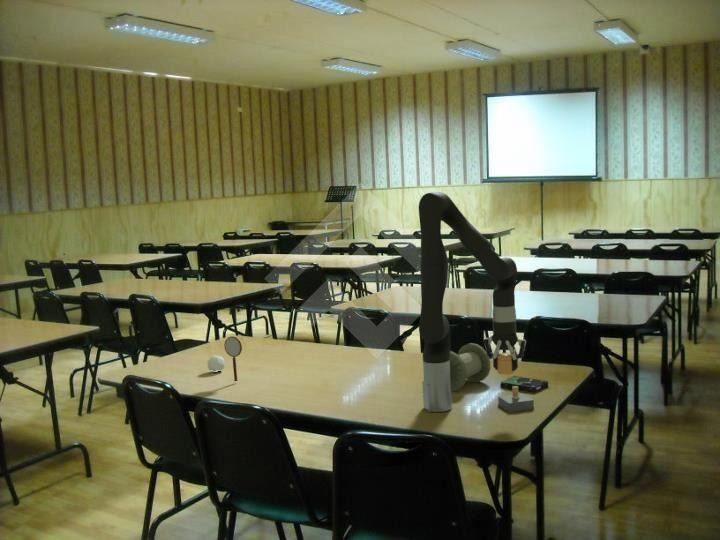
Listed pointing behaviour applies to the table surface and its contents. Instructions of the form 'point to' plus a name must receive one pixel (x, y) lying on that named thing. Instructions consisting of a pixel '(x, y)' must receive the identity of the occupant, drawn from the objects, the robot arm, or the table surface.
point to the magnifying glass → (233, 351)
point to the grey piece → (515, 401)
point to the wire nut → (504, 363)
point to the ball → (216, 363)
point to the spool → (468, 365)
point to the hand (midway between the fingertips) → (505, 369)
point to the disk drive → (524, 384)
